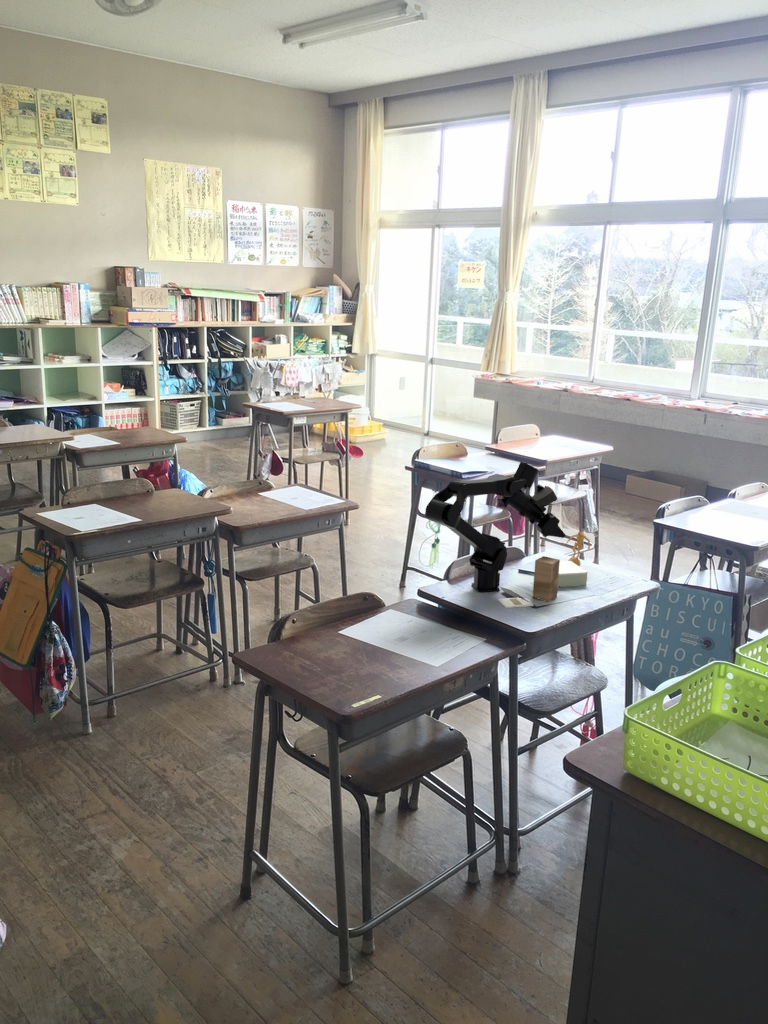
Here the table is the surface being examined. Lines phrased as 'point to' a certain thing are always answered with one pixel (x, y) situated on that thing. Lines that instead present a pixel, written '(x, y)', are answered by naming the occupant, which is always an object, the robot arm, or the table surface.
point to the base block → (571, 574)
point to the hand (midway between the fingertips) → (558, 530)
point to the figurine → (580, 538)
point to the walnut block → (546, 578)
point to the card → (514, 602)
